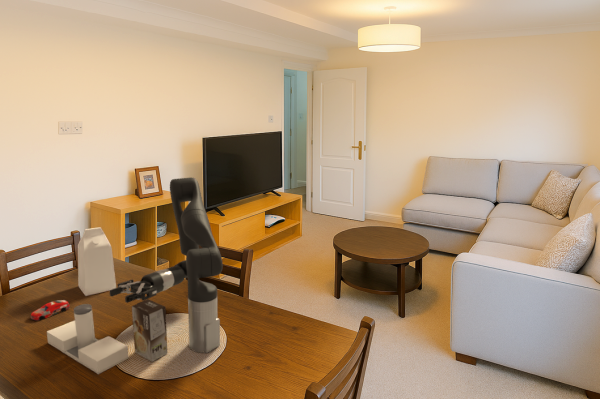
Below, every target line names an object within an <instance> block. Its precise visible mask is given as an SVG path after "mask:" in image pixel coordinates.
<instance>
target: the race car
mask: <svg viewBox="0 0 600 399" xmlns="http://www.w3.org/2000/svg"><path fill="white" fill-rule="evenodd" d="M70 306H71V305H70V303H69V301H67V300H65V299H63V300H62V299H60V300H54V301H50V302H48V303H45V304H44V305H41V307H40V308H38V309H36V310H34V311H31V314H30V319H31V320H32V321H43V320H45V319H48V318H49V317H52V316H54V315H55V316H56V315H57V314H60V313H64V312H66V311H68V310H69V309H70Z"/></svg>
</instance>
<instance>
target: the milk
mask: <svg viewBox="0 0 600 399" xmlns="http://www.w3.org/2000/svg"><path fill="white" fill-rule="evenodd" d="M114 264H115V263H114V257H113V249H112V245H111V243H110V241H109V239H108V238H107V236H106V234H105V232H104V230H103V229H102V227H101V226H100V227H93V228H85V229H84V232H83V234H82V237H81V238H80V240H79V242H78V244H77V271H78V272H77V273H78V275H77V277H78V282H77V283H78V288H79V289H80V290H81V292H82V293H83V294H84V296H85V297H87V296H92V295H95V294H99V293H103V292H107V291H108V292H110V290H112V289H114V288H117V283H116V282H117V281H116V274H115V265H114Z"/></svg>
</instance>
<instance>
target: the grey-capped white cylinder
mask: <svg viewBox="0 0 600 399" xmlns="http://www.w3.org/2000/svg"><path fill="white" fill-rule="evenodd" d="M73 316H74V317H73V318H74V320H75V326H76V334H77V343H78V350H79V349H81V348H84V347H86V346H88V345H90V344H92V343H94V342H95V338H96V336H95V335H96V334H95V326H94V315H93V306H92V305H91V304H89V303H84V304H83V303H82V304H80V305H79V304H78V305H77V306H75V307H74V308H73Z"/></svg>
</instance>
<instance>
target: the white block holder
mask: <svg viewBox="0 0 600 399" xmlns="http://www.w3.org/2000/svg"><path fill="white" fill-rule="evenodd" d="M46 336H47V337H46V338H47V343H48V344H49V345H51V346H52V347H54V348H55V349H56V350H58V351H61V352H62V353H63V354H65V355H67V356H68V357H69V358H71V359H73V360H74V361H76V362H77V363H79V364H81V365H82V366H84V367H86V368H88V370H91V371H93V372H94V373H96V374H97V375H100V374H102V373H104V372H105V371H107V370H109V369H111V368H113V367H114V366H116V365H119V364H120V363H122V362H125V361H126V360H127V359H129V346H128V345H127V344H125V343H123V342H121V341H118V340H117V339H116V338H113V337H111V336H109V335H108V336H106V337H104V338H100V339H97V338H96V337H95V342H94V343H92V344H90V345H88V346H86V347H84V348H81V349H79V350H78V343H77V334H76V326H75V319H74V320H72V321H70V322H67V323H65V324H63V325H60V326H57V327H55V328H52V329H49V330H47V331H46Z"/></svg>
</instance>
